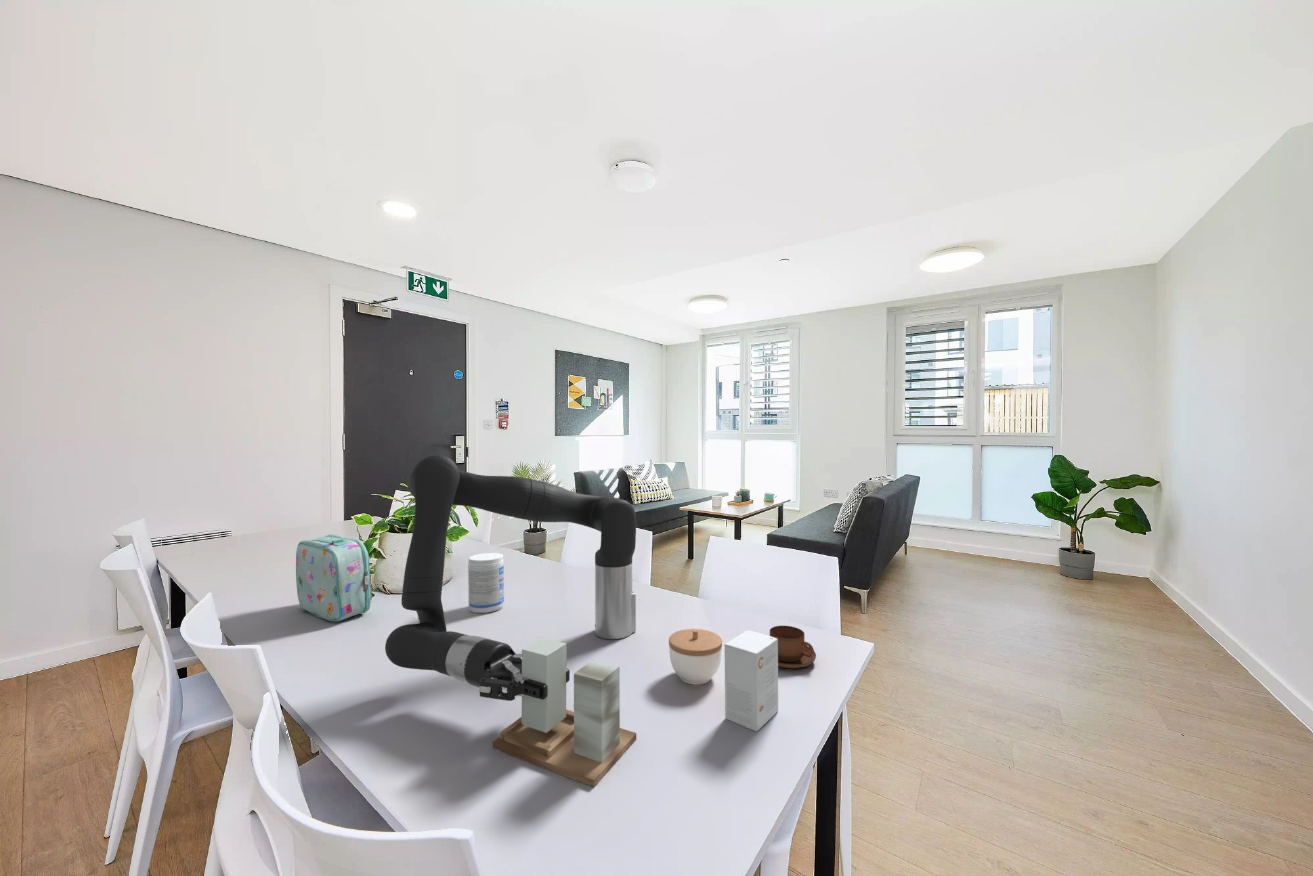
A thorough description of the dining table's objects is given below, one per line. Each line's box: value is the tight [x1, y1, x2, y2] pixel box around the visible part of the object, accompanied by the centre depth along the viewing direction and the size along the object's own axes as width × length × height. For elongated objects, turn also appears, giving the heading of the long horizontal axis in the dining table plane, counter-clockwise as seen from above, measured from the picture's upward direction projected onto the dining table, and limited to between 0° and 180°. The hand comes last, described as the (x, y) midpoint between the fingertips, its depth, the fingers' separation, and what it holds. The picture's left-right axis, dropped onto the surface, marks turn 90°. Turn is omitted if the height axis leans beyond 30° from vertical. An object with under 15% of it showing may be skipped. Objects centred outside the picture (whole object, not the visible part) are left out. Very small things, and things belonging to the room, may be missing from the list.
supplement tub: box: [467, 552, 505, 614], centre depth 139 cm, size 10×10×15 cm
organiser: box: [492, 659, 637, 788], centre depth 77 cm, size 12×19×13 cm, turn 63°
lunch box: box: [295, 533, 373, 623], centre depth 136 cm, size 27×10×21 cm, turn 58°
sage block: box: [521, 637, 568, 733], centre depth 79 cm, size 5×5×12 cm
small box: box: [724, 629, 779, 732], centre depth 85 cm, size 8×6×13 cm
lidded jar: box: [668, 628, 723, 686], centre depth 99 cm, size 11×11×9 cm
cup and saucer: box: [769, 625, 817, 669], centre depth 106 cm, size 12×12×6 cm
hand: (557, 683), depth 78 cm, fingers closed on sage block, 5 cm apart
